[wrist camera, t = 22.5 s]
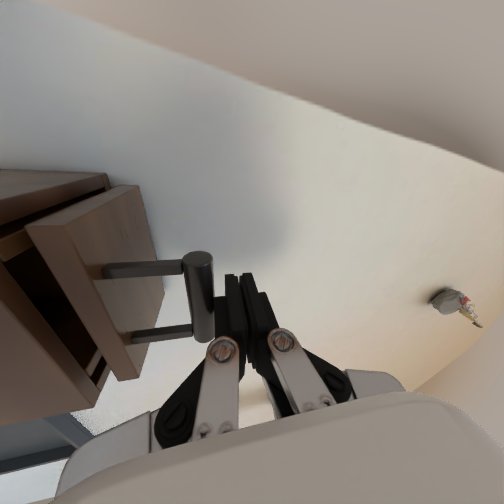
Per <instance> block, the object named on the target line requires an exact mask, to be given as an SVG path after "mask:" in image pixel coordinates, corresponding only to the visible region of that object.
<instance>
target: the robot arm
mask: <svg viewBox="0 0 504 504" xmlns="http://www.w3.org/2000/svg"><path fill="white" fill-rule="evenodd" d="M214 325H215V339H214V340H213V341H212V342H211V343H210V344H209V346H208V348H207V352H206V357H205V359H204V360H203V361H202V362H201V363H200V364H199V365H198V366H197V367H196V369H195V370H194V371H193V372H192V373H191V374H190V375H189V376H188V377H187V379H186V380H185V381H184V382H183V383H182V384H181V385H180V386H179V387H178V389H177V390H176V391H175V392H174V393H173V394H172V395H171V396H170V397H169V399H168V400H167V401H166V402H165V403H164V404H163V406H162V407H161V408H159V409H157V410H155V411H153V412H150V411H148V412H146V413H144V414H141V415H139V416H137V417H135V418H133V419H131V420H128V421H126V422H124V423H122V424H120V425H118V426H116V427H113V428H111V429H109V430H107V431H105V432H103V433H101V434H98V435H96V436H94V437H92V438H90V439H89V440H87V441H86V442H84V443H82V444H81V445H80V446H79V447H78V448H77V449H76V450H75V451H74V452H73V454H72V455H71V457H70V458H69V460H68V461H67V462H66V464H65V466H64V469H63V471H62V474H61V476H60V480H59V483H58V487H57V491H56V494H55V498H54V500H53V501H51V502H50V503H49V504H504V447H503V446H502V445H501V444H500V443H499V442H498V441H497V440H495V438H493V437H492V436H491V435H490V434H489V433H488V432H487V431H486V430H485V429H484V428H483V427H482V426H481V425H479V424H478V423H477V422H476V421H475V420H474V419H472V418H471V417H470V416H469V415H468V414H466V413H465V412H464V411H462V410H461V409H459V408H458V407H456V406H454V405H453V404H451V403H449V402H447V401H444V400H442V399H439V398H437V397H434V396H430V395H427V394H424V393H418V392H410V391H405V389H404V387H403V386H402V385H401V383H400V382H399V381H398V380H397V379H396V378H395V377H393V376H392V375H390V374H388V373H385V372H378V371H365V370H352V369H345V371H341V370H339V369H338V368H337V367H335V366H333V365H331V364H330V363H328V362H326V361H325V360H323V359H321V358H319V357H318V356H316V355H314V354H312V353H311V352H309V351H307V350H306V349H304V348H302V347H301V345H300V344H299V342H298V340H297V339H296V337H295V336H294V335H293V333H291V332H290V331H289V330H287V329H284V328H279V325H278V323H277V320H276V318H275V315H274V312H273V310H272V307H271V305H270V302H269V300H268V297H267V294H266V293H265V292H260V293H258V290H257V287H256V284H255V281H254V278H253V275H252V273H243V274H242V276H240V277H239V282H238V277H237V276H234V274H226V275H225V296H219V297H214ZM246 353H247V359H248V363H252V367H253V369H255V368H256V372H257V373H258V374H260V375H261V376H262V379H263V382H264V385H265V388H266V391H267V393H268V396H269V399H270V401H271V404H272V407H273V410H274V412H275V415H276V418H277V420H273V421H269V422H265V423H261V424H257V425H253V426H250V427H246V428H242V429H238V405H239V382H240V380H241V379H242V377H243V376H244V372H245V364H246Z"/></svg>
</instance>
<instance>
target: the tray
mask: <svg viewBox="0 0 504 504" xmlns="http://www.w3.org/2000/svg"><path fill="white" fill-rule="evenodd" d="M92 437H94V436H93V435H92V434H91V433H90V432H89V431H88V430H87V429H86V428H85V427H83V426H82V425H81V424H80V423H79V422H78V421H77V420H76V419H75V418H74V417H73V416H72V415H71V414H69V413H65V414H59V415H54V416H49V417H44V418H39V419H34V420H29V421H24V422H19V423H14V424H9V425H4V426H0V475H2V474H6V473H10V472H14V471H19V470H23V469H27V468H31V467H35V466H39V465H43V464H47V463H52V462H56V461H60V460H64V459H68V458H70V457H71V455H72V454H73V452H74V451H75V450H76V449H77V448H78V447H79V446H80V445H81V444H82V443H84V442H86V441H87V440H89V439H90V438H92Z"/></svg>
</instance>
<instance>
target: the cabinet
mask: <svg viewBox="0 0 504 504" xmlns="http://www.w3.org/2000/svg"><path fill="white" fill-rule="evenodd" d="M110 189H111V187H110V184H109V181H108V177H107V174H106V173H86V172H61V171H36V170H11V169H0V225H3V224H6V223H8V222H11V221H14V220H16V219H19V218H22V217H24V216H27V215H30V214H33V213H35V212H38V211H41V210H43V209H46V208H49V207H51V206H54V205H57V204H59V203H62V202H65V201H67V200H70V199H73V198H76V197H78V196H81V195H87V196H96V195H99V194H101V193H103V192H106V191H108V190H110ZM110 371H111V369H110V367H109V365H108V364H107V362H106V360H105V359H104V357H103V356H101V358H100V360H99V362H98V364H97V366H96V368H95V369H94V371H93V373H92V375H91V376H90V377H88V375H87V374H86V373H85V371H84V370H83V369H82V368H81V366H80V365H79V364H78V362H77V361H76V360H75V358H74V357H73V356H72V354H71V353H70V352H69V350H68V349H67V348H66V347H65V345H64V344H63V343H62V341H61V340H60V339H59V337H58V336H57V335H56V333H55V332H54V331H53V329H52V328H51V327H50V325H49V324H48V323H47V322H46V320H45V319H44V318H43V316H42V315H41V314H40V312H39V311H38V310H37V308H36V307H35V306H34V304H33V303H32V302H31V301H30V299H29V298H28V297H27V295H26V294H25V293H24V291H23V290H22V289H21V287H20V286H19V285H18V283H17V282H16V281H15V279H14V278H13V277H12V276H11V274H10V273H9V272H8V270H7V269H6V268H5V266H4V265H3V264H2V262H1V261H0V426H4V425H9V424H14V423H19V422H24V421H29V420H34V419H39V418H44V417H49V416H54V415H59V414H65V413H70V412H75V411H80V410H85V409H90V408H94V406H95V404H96V402H97V400H98V397H99V395H100V392H101V391H102V389H103V386H104V384H105V382H106V380H107V377H108V375H109V373H110Z"/></svg>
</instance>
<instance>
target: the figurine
mask: <svg viewBox="0 0 504 504" xmlns="http://www.w3.org/2000/svg"><path fill="white" fill-rule="evenodd" d="M469 301H471V300H470V299H469V298H468V297H467V296H465V295H464V294H463V293H461V292H460V291H456V290H453V289H449V290H447V291H445V292H443V293H440V294H439V295H438V296H436V297H435V298H434V299H433V300H432V301H431V303H432V304H433V307H434V308H435V309H437V310H438V311H439V312H440V313H441V314H450V313H453V312H456V311H457V310H460V311H459V312H460V313H461V314H462V315H464V316H465V317H467V318H469V319H470V320H473V321H474V323H472V324H474V325H476V326H478V327H479V328H482V325H481V324H480V323H478V321H477V320H476V318H477V317H478V316H477V315H476V314H475V313H474V311H475V306H474V305H475V304H474V305H473V304H469V306H470V305H472V306H473V307H474V311H473V310H472V311H471V310H469V308H471V307H469V306H468V305H467V303H468V302H469ZM461 308H462V309H461ZM472 312H473V313H472ZM470 314H474V315H475V316H474V318H473V317H472V316H471V315H470Z"/></svg>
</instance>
